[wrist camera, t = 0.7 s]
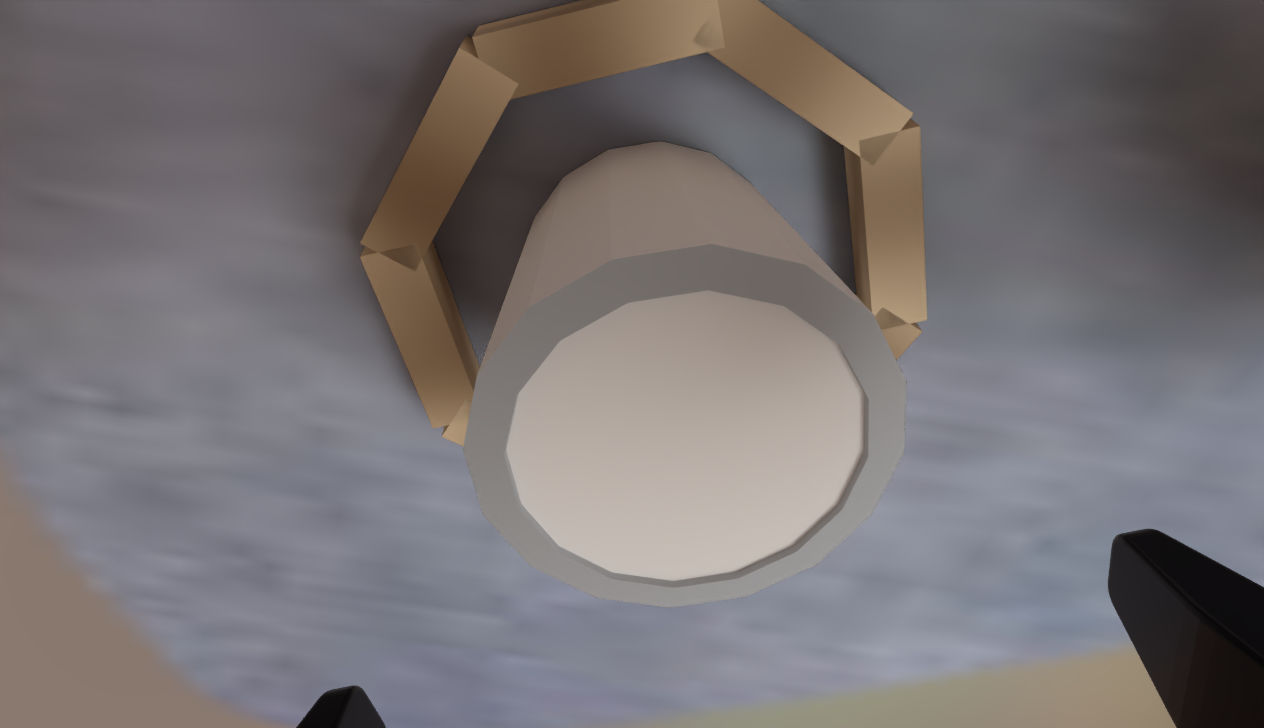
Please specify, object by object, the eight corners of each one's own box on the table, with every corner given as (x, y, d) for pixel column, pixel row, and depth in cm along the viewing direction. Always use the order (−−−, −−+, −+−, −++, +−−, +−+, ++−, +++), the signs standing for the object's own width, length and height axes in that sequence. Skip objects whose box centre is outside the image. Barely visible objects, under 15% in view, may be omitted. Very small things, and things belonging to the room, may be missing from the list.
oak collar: (890, -77, 15) (913, -73, 14) (914, 414, 21) (931, 443, 20) (304, 69, 16) (285, 83, 15) (484, 506, 22) (480, 538, 21)
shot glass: (712, 428, 21) (768, 652, 15) (453, 334, 19) (401, 547, 13) (862, 192, 18) (1005, 355, 12) (572, 52, 16) (572, 164, 10)
